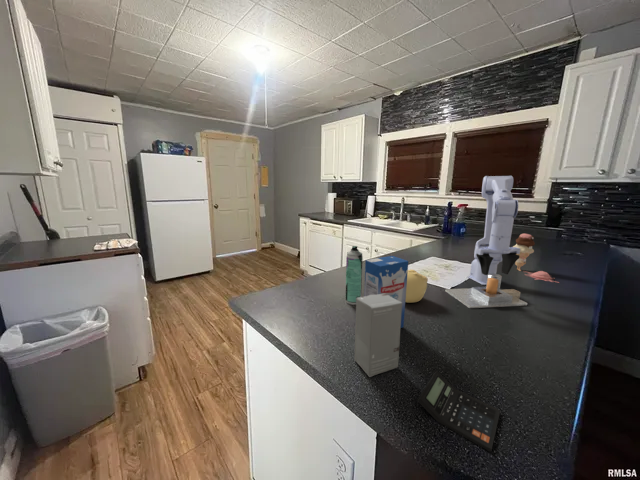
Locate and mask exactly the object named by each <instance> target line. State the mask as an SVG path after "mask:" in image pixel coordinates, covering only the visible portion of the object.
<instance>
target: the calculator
mask: <svg viewBox="0 0 640 480" xmlns="http://www.w3.org/2000/svg"><path fill="white" fill-rule="evenodd" d="M416 401H417V402H418V403H419V404H420V405H421V407H423V409H425V410H426V412H427V413H428V414H429V415H430V416H432V418H433V419H434V420H435V421H436V422H437V423H439V424H441V425H442V426H444V427H446V428H447V429H450V430H452V431H453V432H455V433H456V434H459V435H460V436H462V437H464V438H465V439H467V440H468V441H470V442H472V443H474V444H475V445H477V446H479V447H481V448H483V449H484V450H486V451H487V452H490V453H492V450H493V445H494V441H495V438H496V432H497V427H498V424H499V419H500V414H501V409H499V408H497V407H494V406H493V405H491V404H489V403H486V402H484V401H482V400H481V399H478V398H476V397H474V396H471V395H470V394H467V393H465V392H463V391H461V390H458V389H456V388H455V387H454V386H453V385H452V383H450V382H449V381H448V380H447V379H446V378H445V377H444V376H443V375H442V374H441V373H440V372H439V371H438V370H436V371H435V372H434V373H433V374H432V376H431V377H430V379H429V381H428V382H427V384H426V386H425V387H424V389H423V390H422V392H421V394H420V395H419V397H418V398H417V400H416Z"/></svg>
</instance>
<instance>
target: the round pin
mask: <svg viewBox="0 0 640 480" xmlns="http://www.w3.org/2000/svg"><path fill="white" fill-rule="evenodd" d="M498 282H499V280H498V279H495V278H488V281H487V287H486V286H485V287H486V292H487V293H489V294H490V295H491V294H497V288H498Z"/></svg>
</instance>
